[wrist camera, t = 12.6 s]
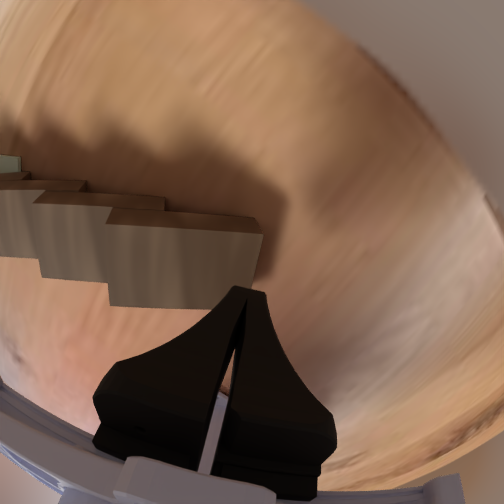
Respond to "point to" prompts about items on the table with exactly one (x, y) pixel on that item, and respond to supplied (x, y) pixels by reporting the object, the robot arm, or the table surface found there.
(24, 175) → the domino
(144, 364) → the robot arm
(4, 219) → the domino
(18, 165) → the pad
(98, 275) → the domino
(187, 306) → the domino
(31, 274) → the table surface
